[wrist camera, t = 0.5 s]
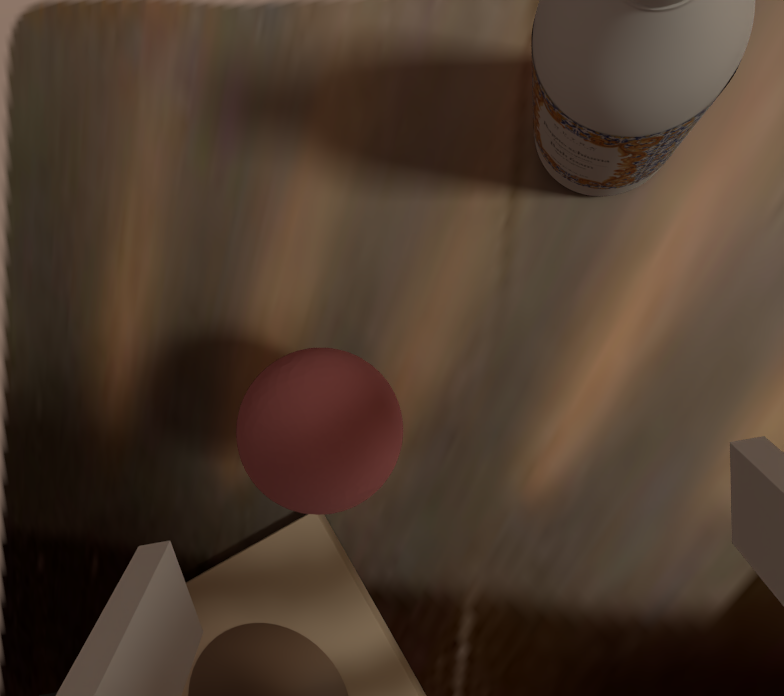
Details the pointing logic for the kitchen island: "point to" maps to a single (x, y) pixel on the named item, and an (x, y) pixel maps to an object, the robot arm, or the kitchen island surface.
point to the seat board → (293, 623)
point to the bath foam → (627, 83)
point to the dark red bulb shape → (319, 431)
